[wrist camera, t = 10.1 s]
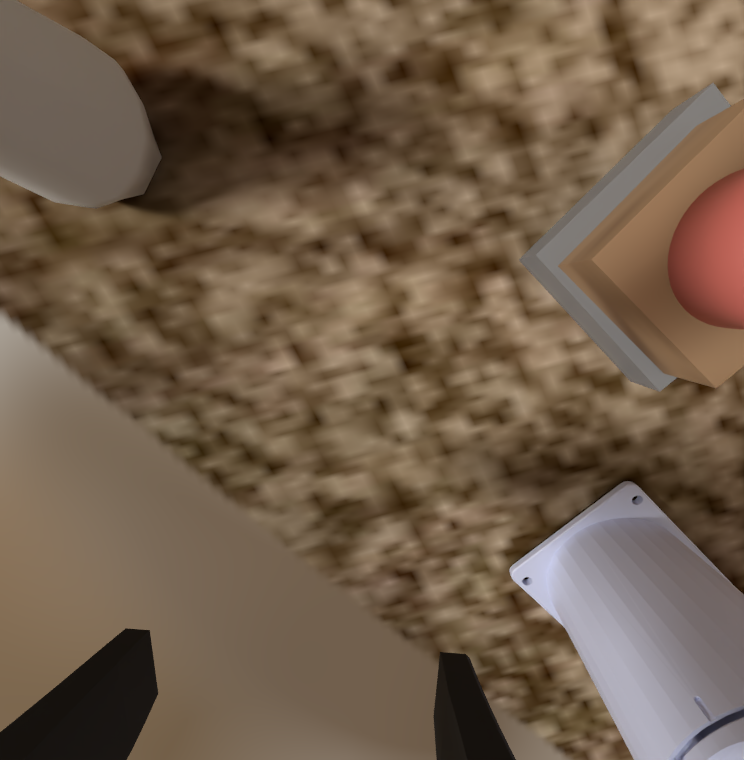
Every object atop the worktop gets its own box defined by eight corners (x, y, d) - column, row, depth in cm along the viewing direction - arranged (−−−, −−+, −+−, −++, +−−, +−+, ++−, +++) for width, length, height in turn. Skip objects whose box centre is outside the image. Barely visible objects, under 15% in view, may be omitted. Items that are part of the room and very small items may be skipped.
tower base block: (770, 255, 16) (838, 247, 14) (622, 378, 18) (659, 391, 15) (660, 117, 15) (712, 82, 13) (514, 261, 17) (535, 255, 14)
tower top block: (805, 251, 14) (895, 241, 11) (663, 373, 15) (716, 388, 13) (696, 126, 13) (766, 85, 10) (557, 266, 14) (591, 259, 12)
